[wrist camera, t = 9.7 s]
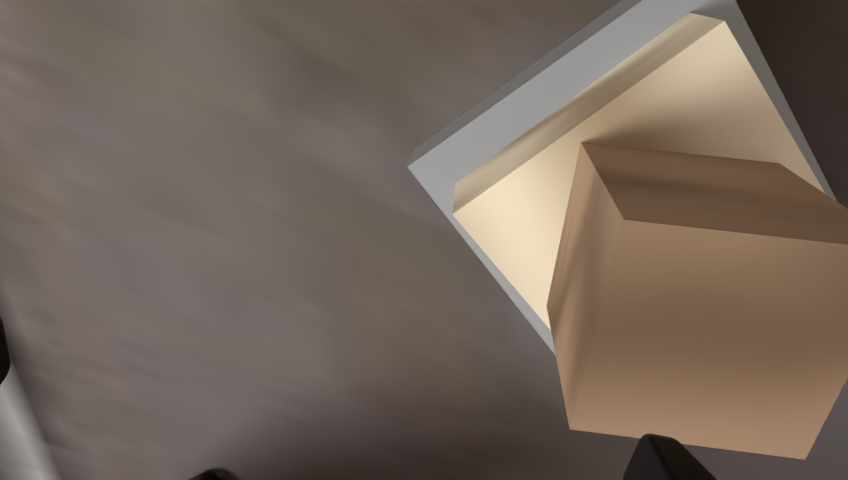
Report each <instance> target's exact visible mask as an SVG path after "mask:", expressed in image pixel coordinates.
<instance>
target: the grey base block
mask: <svg viewBox="0 0 848 480" xmlns="http://www.w3.org/2000/svg"><path fill="white" fill-rule="evenodd" d="M688 13H693V14H698V15H702V16H706V17H711V18H715V19H719V20H723V21H725V22H726V24H727V26H728V27H729V29H730V31H731V33H732V34H733V36H734V38H735V39H736V41H737V43H738V45H739V46H740V48H741V50H742V51H743V53H744V55H745V57H746V58H747V60H748V62H749V63H750V65H751V67H752V69H753V70H754V72H755V74H756V75H757V77H758V79H759V81H760V82H761V84H762V86H763V87H764V89H765V91H766V93H767V94H768V96H769V98H770V99H771V101H772V103H773V105H774V106H775V108H776V110H777V111H778V113H779V115H780V117H781V118H782V120H783V122H784V123H785V125H786V127H787V129H788V130H789V132H790V134H791V135H792V137H793V139H794V141H795V142H796V144H797V146H798V147H799V149H800V151H801V153H802V154H803V156H804V158H805V159H806V161H807V163H808V165H809V166H810V168H811V170H812V171H813V173H814V175H815V177H816V178H817V180H818V182H819V183H820V185H821V187H822V189H823V190H824V192H825V194H826V195H828V196H829V197H831V198H832V199H834V200H835V201H837V200H836V198H835V196H834V194H833V192H832V190H831V188H830V186H829V184H828V183H827V181H826V179H825V177H824V175H823V173H822V171H821V169H820V167H819V165H818V163H817V161H816V159H815V157H814V155H813V153H812V151H811V149H810V147H809V145H808V143H807V141H806V139H805V137H804V135H803V133H802V131H801V129H800V127H799V125H798V123H797V121H796V119H795V117H794V115H793V113H792V111H791V109H790V107H789V105H788V103H787V101H786V99H785V97H784V95H783V93H782V91H781V90H780V88H779V86H778V84H777V82H776V80H775V78H774V76H773V74H772V72H771V70H770V68H769V66H768V64H767V62H766V60H765V58H764V56H763V54H762V52H761V50H760V48H759V46H758V44H757V42H756V40H755V38H754V36H753V34H752V32H751V30H750V28H749V26H748V24H747V22H746V20H745V18H744V16H743V14H742V12H741V10H740V8H739V6H738V4H737V2H736V0H621V1H620V2H619V3H617V4H616V5H614V6H613V7H612V8H610V9H609V10H607V11H606V12H605V13H603V14H602V15H600V16H599V17H598V18H596V19H595V20H593V21H592V22H591V23H589V24H588V25H586V26H585V27H584V28H582V29H581V30H579V31H578V32H577V33H575V34H574V35H572V36H571V37H570V38H568V39H567V40H566V41H564V42H563V43H561V44H560V45H559V46H557V47H556V48H554V49H553V50H552V51H550V52H549V53H547V54H546V55H545V56H543V57H542V58H540V59H539V60H538V61H536V62H535V63H533V64H532V65H531V66H529V67H528V68H526V69H525V70H524V71H522V72H521V73H519V74H518V75H517V76H515V77H514V78H512V79H511V80H510V81H508V82H507V83H506V84H504V85H503V86H501V87H500V88H499V89H497V90H496V91H494V92H493V93H492V94H490V95H489V96H487V97H486V98H485V99H483V100H482V101H480V102H479V103H478V104H476V105H475V106H473V107H472V108H471V109H469V110H468V111H466V112H465V113H464V114H462V115H461V116H459V117H458V118H457V119H455V120H454V121H452V122H451V123H450V124H448V125H447V126H446V127H444V128H443V129H441V130H440V131H439V132H437V133H436V134H434V135H433V136H432V137H430V138H429V139H427V140H426V141H425V142H423V143H422V144H420V145H419V146H418V147H416V148H415V149H414V150H413V152H412V155H411V158H410V161H409V164H408V168H409V170H410V171H411V172H412V173H413V175H414V176H415V177H416V178H417V180H418V181H419V182H420V184H421V185H422V186H423V187H424V189H425V190H426V191H427V192H428V194H429V195H430V196H431V198H432V199H433V200H434V201H435V203H436V204H437V205H438V206H439V208H440V209H441V210H442V212H443V213H444V214H445V215H446V217H447V218H448V219H449V220H450V222H451V223H452V224H453V226H454V227H455V228H456V229H457V231H458V232H459V233H460V234H461V236H462V237H463V238H464V240H465V241H466V242H467V243H468V245H469V246H470V247H471V248H472V250H473V251H474V252H475V253H476V255H477V256H478V257H479V259H480V260H481V261H482V262H483V264H484V265H485V266H486V267H487V269H488V270H489V271H490V273H491V274H492V275H493V276H494V278H495V279H496V280H497V281H498V283H499V284H500V285H501V287H502V288H503V289H504V290H505V292H506V293H507V294H508V295H509V297H510V298H511V299H512V301H513V302H514V303H515V304H516V306H517V307H518V308H519V309H520V311H521V312H522V313H523V315H524V316H525V317H526V318H527V320H528V321H529V322H530V323H531V325H532V326H533V327H534V329H535V330H536V331H537V332H538V334H539V335H540V336H541V337H542V339H543V340H544V341H545V343H546V344H547V345H548V346H549V348H550V349H551V350H552V351H553V353H554V354H555V349H554V344H553V338H552V333H551V330H550V329H549V328H548V327H547V325H546V324H545V323H544V322H543V321H542V320H541V318H540V317H539V316H538V315H537V314H536V313H535V311H534V310H533V309H532V308H531V307H530V305H529V304H528V303H527V302H526V301H525V300H524V298H523V297H522V296H521V295H520V294H519V292H518V291H517V290H516V289H515V288H514V287H513V285H512V284H511V283H510V282H509V281H508V280H507V278H506V277H505V276H504V275H503V274H502V272H501V271H500V270H499V269H498V268H497V267H496V265H495V264H494V263H493V262H492V261H491V260H490V258H489V257H488V256H487V255H486V254H485V252H484V251H483V250H482V249H481V248H480V247H479V245H478V244H477V243H476V242H475V241H474V239H473V238H472V237H471V236H470V235H469V234H468V232H467V231H466V230H465V229H464V228H463V227H462V225H461V224H460V223H459V222H458V221H457V219H456V218H455V217H454V216H453V215H452V213H453V204H454V195H455V186H456V183H457V182H458V181H460V180H461V179H463V178H464V177H465V176H467V175H468V174H469V173H471V172H472V171H473V170H475V169H476V168H478V167H479V166H480V165H482V164H483V163H484V162H486V161H487V160H488V159H490V158H491V157H493V156H494V155H495V154H497V153H498V152H499V151H501V150H502V149H503V148H505V147H506V146H508V145H509V144H510V143H512V142H513V141H514V140H516V139H517V138H518V137H520V136H521V135H523V134H524V133H525V132H527V131H528V130H529V129H531V128H532V127H533V126H535V125H536V124H538V123H539V122H540V121H542V120H543V119H544V118H546V117H547V116H548V115H550V114H551V113H553V112H554V111H555V110H557V109H558V108H559V107H561V106H562V105H563V104H565V103H566V102H568V101H569V100H570V99H572V98H573V97H574V96H576V95H577V94H579V93H580V92H581V91H583V90H584V89H585V88H587V87H588V86H589V85H591V84H592V83H594V82H595V81H596V80H598V79H599V78H600V77H602V76H603V75H604V74H606V73H607V72H609V71H610V70H611V69H613V68H614V67H615V66H617V65H618V64H619V63H621V62H622V61H624V60H625V59H626V58H628V57H629V56H630V55H632V54H633V53H634V52H636V51H637V50H639V49H640V48H641V47H643V46H644V45H645V44H647V43H648V42H649V41H651V40H652V39H654V38H655V37H656V36H658V35H659V34H660V33H662V32H663V31H664V30H666V29H667V28H669V27H670V26H671V25H673V24H674V23H675V22H677V21H678V20H680V19H681V18H682V17H684V16H685V15H686V14H688ZM555 355H556V354H555Z"/></svg>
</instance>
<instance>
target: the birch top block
mask: <svg viewBox="0 0 848 480" xmlns="http://www.w3.org/2000/svg"><path fill="white" fill-rule="evenodd" d="M581 142H583V143H593V144H602V145H612V146H621V147H631V148H640V149H650V150H660V151H669V152H679V153H688V154H698V155H707V156H717V157H727V158H736V159H746V160H755V161H765V162H774V163H780V164H781V165H783V166H784V167H786V168H787V169H789V170H790V171H792V172H793V173H795V174H796V175H798V176H799V177H801V178H802V179H804V180H805V181H807V182H808V183H810V184H811V185H813V186H814V187H816V188H817V189H819V190H820V191H822V192H823V193H825V192H824V190H823V189H822V187H821V185H820V183H819V182H818V180H817V178H816V177H815V175H814V173H813V171H812V170H811V168H810V166H809V165H808V163H807V161H806V159H805V158H804V156H803V154H802V153H801V151H800V149H799V147H798V146H797V144H796V142H795V141H794V139H793V137H792V135H791V134H790V132H789V130H788V129H787V127H786V125H785V123H784V122H783V120H782V118H781V117H780V115H779V113H778V111H777V110H776V108H775V106H774V105H773V103H772V101H771V99H770V98H769V96H768V94H767V93H766V91H765V89H764V87H763V86H762V84H761V82H760V81H759V79H758V77H757V75H756V74H755V72H754V70H753V69H752V67H751V65H750V63H749V62H748V60H747V58H746V57H745V55H744V53H743V51H742V50H741V48H740V46H739V45H738V43H737V41H736V39H735V38H734V36H733V34H732V33H731V31H730V29H729V27H728V26H727V24H726V22H725V21H723V20H719V19H715V18H711V17H706V16H702V15H698V14H693V13H688V14H686V15H685V16H684V17H682V18H681V19H680V20H678V21H677V22H675V23H674V24H673V25H671V26H670V27H669V28H667V29H666V30H664V31H663V32H662V33H660V34H659V35H658V36H656V37H655V38H654V39H652V40H651V41H649V42H648V43H647V44H645V45H644V46H643V47H641V48H640V49H639V50H637V51H636V52H634V53H633V54H632V55H630V56H629V57H628V58H626V59H625V60H624V61H622V62H621V63H619V64H618V65H617V66H615V67H614V68H613V69H611V70H610V71H609V72H607V73H606V74H604V75H603V76H602V77H600V78H599V79H598V80H596V81H595V82H594V83H592V84H591V85H589V86H588V87H587V88H585V89H584V90H583V91H581V92H580V93H579V94H577V95H576V96H574V97H573V98H572V99H570V100H569V101H568V102H566V103H565V104H563V105H562V106H561V107H559V108H558V109H557V110H555V111H554V112H553V113H551V114H550V115H548V116H547V117H546V118H544V119H543V120H542V121H540V122H539V123H538V124H536V125H535V126H533V127H532V128H531V129H529V130H528V131H527V132H525V133H524V134H523V135H521V136H520V137H518V138H517V139H516V140H514V141H513V142H512V143H510V144H509V145H508V146H506V147H505V148H503V149H502V150H501V151H499V152H498V153H497V154H495V155H494V156H493V157H491V158H490V159H488V160H487V161H486V162H484V163H483V164H482V165H480V166H479V167H478V168H476V169H475V170H473V171H472V172H471V173H469V174H468V175H467V176H465V177H464V178H463V179H461V180H460V181H458V182H457V183H456V186H455V195H454V204H453V213H452V215H453V216H454V217H455V218H456V219H457V221H458V222H459V223H460V224H461V225H462V227H463V228H464V229H465V230H466V231H467V232H468V234H469V235H470V236H471V237H472V238H473V239H474V241H475V242H476V243H477V244H478V245H479V247H480V248H481V249H482V250H483V251H484V252H485V254H486V255H487V256H488V257H489V258H490V260H491V261H492V262H493V263H494V264H495V265H496V267H497V268H498V269H499V270H500V271H501V272H502V274H503V275H504V276H505V277H506V278H507V280H508V281H509V282H510V283H511V284H512V285H513V287H514V288H515V289H516V290H517V291H518V292H519V294H520V295H521V296H522V297H523V298H524V300H525V301H526V302H527V303H528V304H529V305H530V307H531V308H532V309H533V310H534V311H535V313H536V314H537V315H538V316H539V317H540V318H541V320H542V321H543V322H544V323H545V324H546V325H547V327H548V328H549V329H550V330H551V328H550V322H549V317H548V312H547V301H548V296H549V291H550V287H551V282H552V277H553V272H554V268H555V263H556V258H557V253H558V248H559V244H560V239H561V234H562V229H563V225H564V220H565V215H566V210H567V206H568V201H569V196H570V191H571V187H572V182H573V177H574V172H575V168H576V163H577V158H578V153H579V148H580V144H581Z"/></svg>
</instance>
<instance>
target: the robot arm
mask: <svg viewBox="0 0 848 480" xmlns="http://www.w3.org/2000/svg"><path fill="white" fill-rule="evenodd" d="M10 364H11V357H10V352H9V347H8V342H7V338H6V333H5V328H4V323H3V320H2V319H1V317H0V384H1V383H2V382H3V380H4V379H5V377H6V376H7V374H8V371H9V369H10ZM192 480H219V479H218V478H217V477H215V476H214V475H212V474H209V473H204V474H201V475H199V476H197V477H196V478H194V479H192ZM623 480H717V479H716V478H715V477H714V476H713V475H712V474H711V473H710V472H709V471H708V470H707V469H706V468H705V467H704V466H703V465H702V464H701V463H700V462H699V461H698V460H697V459H696V458H695V457H694V456H693V455H692V454H691V453H690V452H689V451H688V450H687V449H686V448H685V447H684V446H683V445H682V444H681V443H680V442H679V441H678V440H676V439H674V438H672V437H667V436H662V435H656V434H651V433H648V434H645V435H643V436H642V437H641V439H640V440H639V442H638V444H637V447H636V449H635V451H634V453H633V455H632V458H631V460H630V462H629V464H628V467H627V469H626V471H625V474H624V477H623Z"/></svg>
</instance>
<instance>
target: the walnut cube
mask: <svg viewBox="0 0 848 480" xmlns="http://www.w3.org/2000/svg"><path fill="white" fill-rule="evenodd" d="M547 312H548V317H549V322H550V328H551V333H552V338H553V344H554V349H555V354H556V359H557V365H558V370H559V375H560V381H561V386H562V391H563V397H564V402H565V407H566V413H567V418H568V423H569V428H570V429H572V430H580V431H587V432H595V433H603V434H611V435H618V436H626V437H634V438H641V437H642V436H643V435H645V434H648V433H651V434H656V435H662V436H667V437H672V438H674V439H676V440H678V441H679V442H680V443H681V444H688V445H696V446H704V447H711V448H719V449H727V450H735V451H742V452H750V453H758V454H766V455H773V456H781V457H789V458H797V459H804V460H805V459H806V457H807V455H808V453H809V451H810V449H811V447H812V445H813V443H814V442H815V440H816V438H817V436H818V434H819V432H820V430H821V428H822V426H823V424H824V422H825V420H826V418H827V416H828V415H829V413H830V411H831V409H832V407H833V405H834V403H835V401H836V399H837V397H838V395H839V393H840V391H841V389H842V388H843V386H844V384H845V382H846V380H847V378H848V209H847V208H846V207H844V206H843V205H841V204H840V203H838V202H837V201H835V200H834V199H832V198H831V197H829V196H828V195H826V194H825V193H823V192H822V191H820V190H819V189H817V188H816V187H814V186H813V185H811V184H810V183H808V182H807V181H805V180H804V179H802V178H801V177H799V176H798V175H796V174H795V173H793V172H792V171H790V170H789V169H787V168H786V167H784V166H783V165H781V164H780V163H774V162H765V161H755V160H746V159H736V158H727V157H717V156H707V155H698V154H688V153H679V152H669V151H660V150H650V149H640V148H631V147H621V146H612V145H602V144H593V143H583V142H581V144H580V148H579V153H578V158H577V163H576V168H575V172H574V177H573V182H572V187H571V191H570V196H569V201H568V206H567V210H566V215H565V220H564V225H563V229H562V234H561V239H560V244H559V248H558V253H557V258H556V263H555V268H554V272H553V277H552V282H551V287H550V291H549V296H548V301H547Z"/></svg>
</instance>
